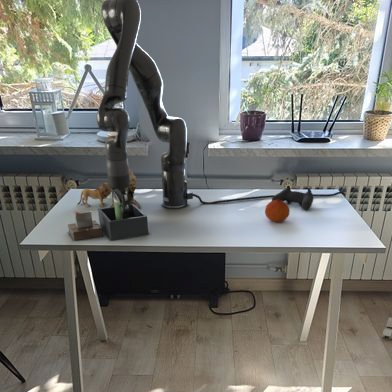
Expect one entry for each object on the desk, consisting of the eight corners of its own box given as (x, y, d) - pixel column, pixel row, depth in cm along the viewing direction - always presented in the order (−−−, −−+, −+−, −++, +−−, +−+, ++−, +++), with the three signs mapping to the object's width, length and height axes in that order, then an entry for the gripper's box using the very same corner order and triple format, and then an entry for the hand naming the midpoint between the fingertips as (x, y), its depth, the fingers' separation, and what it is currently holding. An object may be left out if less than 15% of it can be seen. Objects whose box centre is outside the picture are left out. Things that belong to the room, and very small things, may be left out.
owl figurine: (115, 202, 210) (110, 159, 200) (142, 202, 209) (139, 159, 200) (105, 216, 195) (100, 171, 185) (135, 216, 194) (131, 171, 185)
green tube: (127, 225, 184) (124, 195, 178) (131, 229, 181) (128, 199, 174) (115, 227, 183) (112, 197, 176) (118, 231, 179) (115, 201, 173)
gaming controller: (309, 216, 200) (319, 197, 203) (308, 206, 195) (318, 187, 198) (271, 209, 207) (281, 191, 210) (269, 199, 203) (279, 181, 206)
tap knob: (91, 223, 179) (89, 209, 176) (93, 225, 177) (91, 211, 174) (76, 226, 177) (73, 211, 174) (77, 228, 175) (75, 213, 173)
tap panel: (95, 227, 184) (94, 219, 183) (102, 236, 177) (101, 227, 175) (68, 232, 181) (67, 223, 179) (74, 241, 174) (73, 232, 172)
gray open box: (134, 220, 190) (133, 203, 187) (148, 234, 178) (147, 216, 175) (99, 226, 186) (97, 208, 182) (111, 240, 174) (109, 221, 170)
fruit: (293, 221, 188) (295, 200, 183) (274, 226, 184) (276, 204, 179) (278, 215, 194) (280, 194, 190) (260, 219, 190) (261, 198, 186)
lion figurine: (113, 202, 209) (111, 180, 204) (112, 206, 205) (110, 184, 200) (78, 204, 208) (75, 182, 203) (76, 208, 204) (73, 185, 199)
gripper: (135, 176, 166) (138, 223, 175) (122, 166, 177) (126, 211, 186) (113, 178, 164) (118, 226, 173) (102, 168, 175) (107, 214, 184)
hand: (122, 218), depth 180 cm, fingers open, 8 cm apart
